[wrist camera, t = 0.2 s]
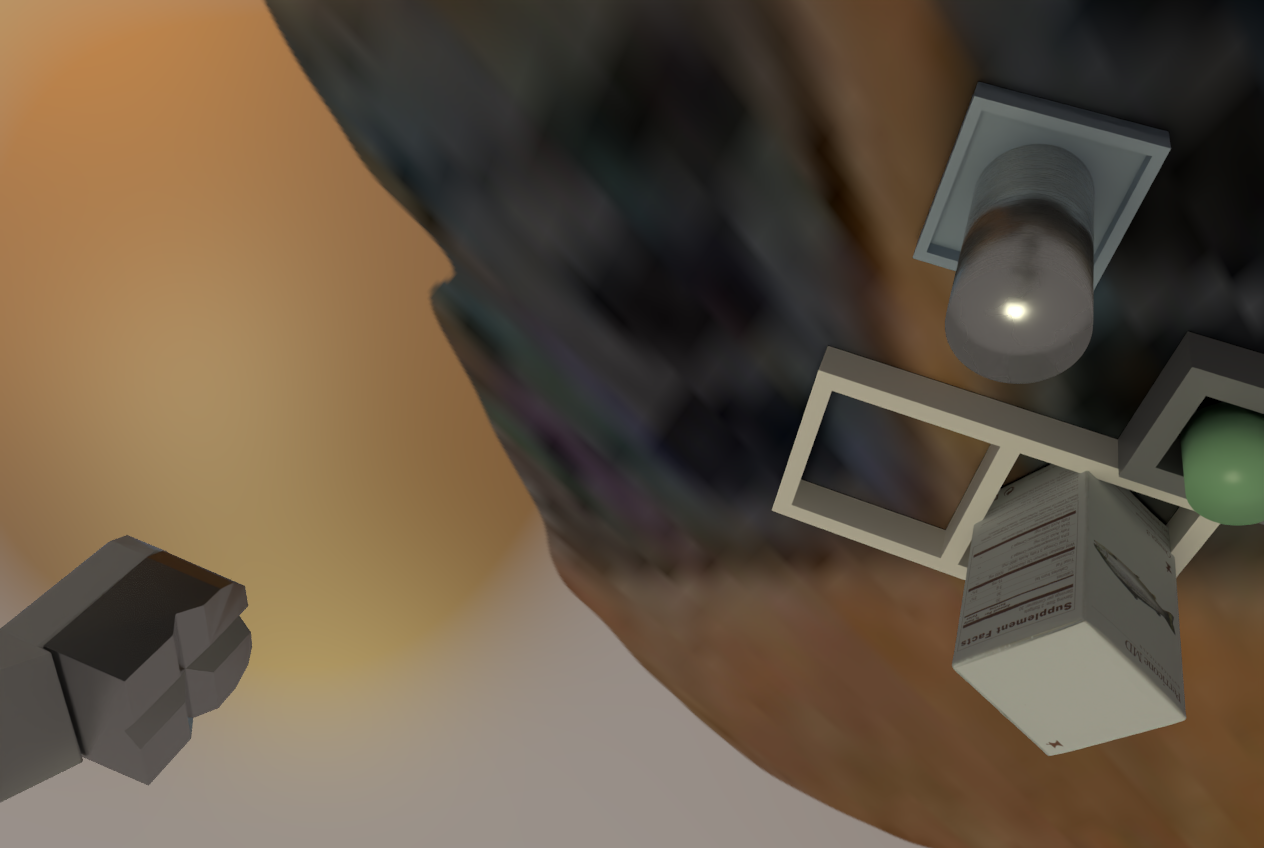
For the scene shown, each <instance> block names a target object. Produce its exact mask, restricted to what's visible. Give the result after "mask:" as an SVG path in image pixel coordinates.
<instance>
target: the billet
mask: <svg viewBox="0 0 1264 848" xmlns="http://www.w3.org/2000/svg"><path fill="white" fill-rule="evenodd" d="M1094 201H1095V192H1094V183H1093V179H1092V176H1091V174H1090V172H1089V170H1088V168H1087V167H1086V165H1085V164H1084V163H1083V162H1082V161H1081V160H1080V159H1079V158H1078V157H1077V156H1075V155H1074V154H1072V153H1071V152H1069V151H1067V150H1065V149H1063V148H1060V147H1057V146H1053V145H1048V144H1030V145H1023V146H1020V147H1016V148H1014V149H1011V150H1009V151H1007V152H1005V153H1003V154H1001V155H1000V156H998V157H997V158H995V159H994V160H993V161H992V162H991V163H990V164H989V165H988V166H987V167H986V168H985V169H984V171H983V172H982V174H981V175H980V177H979V179H978V181H977V183H976V187H975V190H974V194H973V199H972V203H971V207H970V212H969V216H968V221H967V225H966V229H965V234H964V238H963V243H962V247H961V251H960V256H959V260H958V265H957V269H956V273H955V278H954V282H953V287H952V291H951V295H950V300H949V304H948V309H947V313H946V319H945V331H946V337H947V340H948V343H949V345H950V347H951V349H952V351H953V352H954V354H955V355H956V357H957V358H958V359H959V360H960V361H961V362H962V363H963V364H964V365H965V366H966V367H968V368H969V369H971V370H972V371H974V372H975V373H977V374H979V375H981V376H983V377H986V378H988V379H991V380H995V381H999V382H1004V383H1015V384H1021V383H1032V382H1038V381H1042V380H1046V379H1048V378H1051V377H1054V376H1056V375H1058V374H1060V373H1062V372H1063V371H1065V370H1066V369H1068V368H1069V367H1071V366H1072V365H1073V364H1074V363H1075V362H1076V361H1077V360H1078V359H1079V358H1080V357H1081V356H1082V354H1083V353H1084V351H1085V350H1086V348H1087V346H1088V344H1089V342H1090V339H1091V335H1092V329H1093V281H1094Z"/></svg>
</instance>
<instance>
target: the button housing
mask: <svg viewBox="0 0 1264 848" xmlns="http://www.w3.org/2000/svg"><path fill="white" fill-rule="evenodd" d="M1205 396H1208V397H1211V398H1214V399H1217V400H1221V401H1224V402H1227V403H1230V404H1233V405H1237V406H1240V407H1243V408H1246V409H1250V410H1253V411H1256V412H1259V413H1262V414H1264V354H1262V353H1258V352H1255V351H1252V350H1248V349H1245V348H1242V347H1238V346H1235V345H1232V344H1228V343H1225V342H1222V341H1218V340H1215V339H1212V338H1208V337H1205V336H1202V335H1198V334H1195V333H1192V332H1187V333H1186V335H1185V336H1184V338H1183V339H1182V341H1181V342H1180V344H1179V346H1178V347H1177V349H1176V350H1175V352H1174V353H1173V355H1172V356H1171V358H1170V359H1169V361H1168V363H1167V364H1166V366H1165V367H1164V369H1163V370H1162V372H1161V373H1160V375H1159V377H1158V378H1157V380H1156V381H1155V383H1154V384H1153V386H1152V387H1151V389H1150V390H1149V392H1148V394H1147V395H1146V397H1145V398H1144V400H1143V401H1142V403H1141V404H1140V406H1139V408H1138V409H1137V411H1136V412H1135V414H1134V415H1133V417H1132V418H1131V420H1130V421H1129V423H1128V425H1127V426H1126V428H1125V429H1124V431H1123V432H1122V434H1121V435H1120V437H1119V439H1118V471H1119V477H1121V478H1124V479H1127V480H1130V481H1133V482H1137V483H1140V484H1143V485H1146V486H1149V487H1152V488H1155V489H1158V490H1161V491H1164V492H1167V493H1170V494H1173V495H1176V496H1179V497H1182V498H1185V499H1187V498H1186V494H1185V483H1184V473H1183V463H1182V453H1181V443H1180V439H1179V438H1177V436H1178V435H1179V433H1180V432H1181V431H1182V429H1183V428H1184V426H1185V425H1186V423H1187V422H1188V421H1189V419H1190V418H1191V416H1192V415H1193V413H1194V412H1195V411H1196V409H1197V408H1198V406H1199V405H1200V403H1201V402H1202V401H1203V399H1204V398H1205ZM1259 523H1260V524H1264V521H1262V522H1259Z"/></svg>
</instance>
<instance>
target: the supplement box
mask: <svg viewBox="0 0 1264 848" xmlns="http://www.w3.org/2000/svg"><path fill="white" fill-rule="evenodd" d="M952 667H953V669H954V670H955V671H956V672H957V673H958V674H959V675H960V676H962V677H963V678H964V679H965V680H966V681H967V682H968V683H969V684H971V685H972V686H973V687H974V688H975V689H976V690H977V691H978V692H979V693H980V694H981V695H982V696H984V697H985V698H986V699H987V700H988V701H989V702H990V703H991V704H992V705H993V706H995V707H996V708H997V709H998V710H999V711H1000V712H1001V713H1002V714H1003V715H1004V716H1005V717H1006V718H1007V719H1009V720H1010V721H1011V722H1012V723H1013V724H1014V725H1015V726H1016V727H1018V728H1019V729H1020V730H1021V731H1022V732H1023V733H1024V734H1025V735H1026V736H1027V737H1028V738H1030V739H1031V740H1032V741H1033V742H1034V743H1035V744H1036V745H1037V746H1038V747H1039V748H1040V749H1041V750H1042V751H1043V752H1044V753H1045V754H1047V755H1049V756H1051V755H1056V754H1061V753H1066V752H1070V751H1074V750H1078V749H1082V748H1085V747H1089V746H1093V745H1096V744H1100V743H1104V742H1108V741H1111V740H1115V739H1119V738H1123V737H1126V736H1130V735H1134V734H1138V733H1141V732H1145V731H1149V730H1152V729H1157V728H1160V727H1164V726H1168V725H1171V724H1175V723H1177V722H1180V721H1183V720H1185V719H1186V712H1185V698H1184V684H1183V672H1182V657H1181V642H1180V629H1179V613H1178V599H1177V584H1176V569H1175V557H1174V556H1173V555H1172V554H1171V549H1170V538H1169V529H1168V527H1166V526H1165V525H1164V524H1163V523H1162V522H1161V521H1160V520H1159V519H1158V518H1157V517H1155V516H1154V515H1153V514H1152V513H1151V512H1150V511H1149V510H1148V509H1147V508H1146V507H1145V506H1144V505H1143V504H1142V503H1141V502H1140V501H1139V500H1138V499H1137V498H1136V497H1135V496H1134V495H1133V494H1132V493H1131V492H1130V491H1129V490H1128V489H1126V488H1123V487H1120V486H1117V485H1114V484H1111V483H1108V482H1105V481H1102V480H1099V479H1097V478H1096V477H1095V476H1094V475H1093V474H1092V473H1090V472H1089V471H1084V472H1082V473H1078V472H1075V471H1072V470H1069V469H1066V468H1063V467H1060V466H1057V465H1054V464H1051V465H1049V466H1047V467H1044V468H1042V469H1041V470H1038V471H1036V472H1034V473H1032V474H1030V475H1028V476H1026V477H1024V478H1022V479H1020V480H1018V481H1016V482H1014V483H1012V484H1010V485H1008V486H1006V487H1004V488H1002V489H1000V490H999V492H998V493H997V495H996V497H995V499H994V501H993V502H992V504H991V506H990V508H989V510H988V511H987V513H986V515H985V517H984V518H983V520H982V521H980V522H978V523H976V524H975V525H974V528H973V535H972V541H971V548H970V554H969V560H968V567H967V573H966V580H965V587H964V593H963V600H962V606H961V613H960V619H959V626H958V632H957V639H956V645H955V651H954V657H953V662H952Z"/></svg>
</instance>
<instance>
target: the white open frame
mask: <svg viewBox="0 0 1264 848" xmlns="http://www.w3.org/2000/svg"><path fill="white" fill-rule="evenodd" d="M832 391H835V392H838V393H841V394H844V395H847V396H850V397H853V398H856V399H859V400H862V401H865V402H868V403H871V404H874V405H877V406H880V407H883V408H886V409H889V410H892V411H895V412H898V413H901V414H904V415H907V416H910V417H913V418H916V419H919V420H922V421H925V422H928V423H931V424H934V425H937V426H940V427H943V428H946V429H949V430H952V431H955V432H958V433H961V434H964V435H967V436H970V437H973V438H976V439H979V440H982V441H985V442H988V443H991V445H990V447H989V448H988V450H987V452H986V454H985V456H984V458H983V460H982V462H981V464H980V466H979V468H978V469H977V471H976V473H975V475H974V477H973V479H972V481H971V483H970V485H969V487H968V488H967V490H966V492H965V494H964V496H963V498H962V500H961V502H960V504H959V506H958V508H957V509H956V511H955V513H954V515H953V517H952V519H951V521H950V523H949V525H948V527H947V529H946V530H943V529H941V528H938V527H935V526H932V525H929V524H926V523H924V522H921V521H918V520H915V519H912V518H909V517H906V516H904V515H901V514H898V513H895V512H892V511H889V510H887V509H884V508H881V507H878V506H875V505H872V504H870V503H867V502H864V501H861V500H858V499H855V498H853V497H850V496H847V495H844V494H841V493H838V492H835V491H833V490H830V489H827V488H824V487H821V486H818V485H816V484H813V483H810V482H807V481H804V480H801V477H802V474H803V471H804V468H805V466H806V463H807V460H808V457H809V454H810V451H811V449H812V446H813V443H814V440H815V437H816V434H817V432H818V429H819V426H820V423H821V420H822V417H823V414H824V412H825V409H826V406H827V403H828V400H829V397H830V395H831V392H832ZM1020 453H1021V454H1024V455H1027V456H1030V457H1033V458H1036V459H1039V460H1042V461H1045V462H1048V463H1051V464H1054V465H1057V466H1060V467H1063V468H1066V469H1069V470H1072V471H1075V472H1078V473H1082V472H1084V471H1089V472H1090V473H1092V474H1093V475H1094V476H1095V477H1096V478H1097V479H1099V480H1102V481H1105V482H1108V483H1111V484H1114V485H1117V486H1120V487H1123V488H1126V489H1129V490H1132V491H1135V492H1138V493H1141V494H1144V495H1147V496H1150V497H1153V498H1156V499H1159V500H1162V501H1165V502H1168V503H1171V504H1174V505H1177V506H1180V507H1179V508H1178V510H1177V511H1176V512H1175V514H1174V515H1173V516H1172V518H1171V519H1170V520H1169V522H1168V523H1167V524H1166V527H1168V529H1169V538H1170V549H1171V554H1172V555H1173V556H1174V557H1175V569H1176V577H1177V576H1178V575H1179V574H1180V572H1181V571H1182V570H1183V569H1184V568H1185V566H1186V565H1187V564H1188V563H1189V561H1190V560H1191V559H1192V558H1193V556H1194V555H1195V554H1196V553H1197V551H1198V550H1199V549H1200V548H1201V546H1202V545H1203V544H1204V543H1205V542H1206V540H1207V539H1208V538H1209V537H1210V535H1211V534H1212V533H1213V532H1214V530H1215V529H1216V528H1217V527H1218V525H1219V524H1220V523H1217V522H1213V521H1211V520H1208V519H1206V518H1204V517H1202V516H1201V515H1199V514H1198V513H1197V512H1195V511H1194V510H1193V509H1192V507H1191V506H1190V505H1189V503H1188V501H1187V499H1185V498H1182V497H1179V496H1176V495H1173V494H1170V493H1167V492H1164V491H1161V490H1158V489H1155V488H1152V487H1149V486H1146V485H1143V484H1140V483H1137V482H1133V481H1130V480H1127V479H1124V478H1121V477H1119V471H1118V439H1115V438H1111V437H1108V436H1105V435H1102V434H1099V433H1096V432H1093V431H1090V430H1087V429H1084V428H1081V427H1077V426H1074V425H1071V424H1068V423H1065V422H1062V421H1059V420H1056V419H1053V418H1050V417H1047V416H1043V415H1040V414H1037V413H1034V412H1031V411H1028V410H1025V409H1022V408H1019V407H1016V406H1013V405H1010V404H1006V403H1003V402H1000V401H997V400H994V399H991V398H988V397H985V396H982V395H979V394H976V393H972V392H969V391H966V390H963V389H960V388H957V387H954V386H951V385H948V384H945V383H942V382H938V381H935V380H932V379H929V378H926V377H923V376H920V375H917V374H914V373H911V372H908V371H905V370H901V369H898V368H895V367H892V366H889V365H886V364H883V363H880V362H877V361H874V360H871V359H867V358H864V357H861V356H858V355H855V354H852V353H849V352H846V351H843V350H840V349H837V348H834V347H830V346H828V347H827V349H826V352H825V355H824V357H823V360H822V363H821V365H820V368H819V370H818V373H817V376H816V379H815V382H814V385H813V388H812V391H811V394H810V397H809V400H808V403H807V406H806V409H805V412H804V415H803V418H802V421H801V424H800V427H799V430H798V433H797V436H796V439H795V442H794V445H793V448H792V451H791V454H790V457H789V460H788V463H787V466H786V469H785V472H784V475H783V478H782V481H781V484H780V487H779V490H778V493H777V496H776V499H775V502H774V505H773V508H772V511H775V512H777V513H780V514H783V515H786V516H788V517H791V518H794V519H797V520H799V521H802V522H805V523H808V524H811V525H813V526H816V527H819V528H822V529H824V530H827V531H830V532H833V533H836V534H838V535H841V536H844V537H847V538H849V539H852V540H855V541H858V542H861V543H863V544H866V545H869V546H872V547H874V548H877V549H880V550H883V551H885V552H888V553H891V554H894V555H897V556H899V557H902V558H905V559H908V560H910V561H913V562H916V563H919V564H922V565H924V566H927V567H930V568H933V569H935V570H938V571H941V572H944V573H947V574H949V575H952V576H955V577H958V578H960V579H963V580H966V573H967V567H968V560H969V554H970V548H971V541H972V535H973V528H974V525H975V524H976V523H978V522H980V521H982V520H983V518H984V517H985V515H986V513H987V511H988V510H989V508H990V506H991V504H992V502H993V501H994V499H995V497H996V495H997V493H998V492H999V490H1000V488H1001V486H1002V484H1003V483H1004V481H1005V479H1006V477H1007V475H1008V474H1009V472H1010V470H1011V468H1012V466H1013V465H1014V463H1015V461H1016V459H1017V458H1018V456H1019V454H1020Z"/></svg>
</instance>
